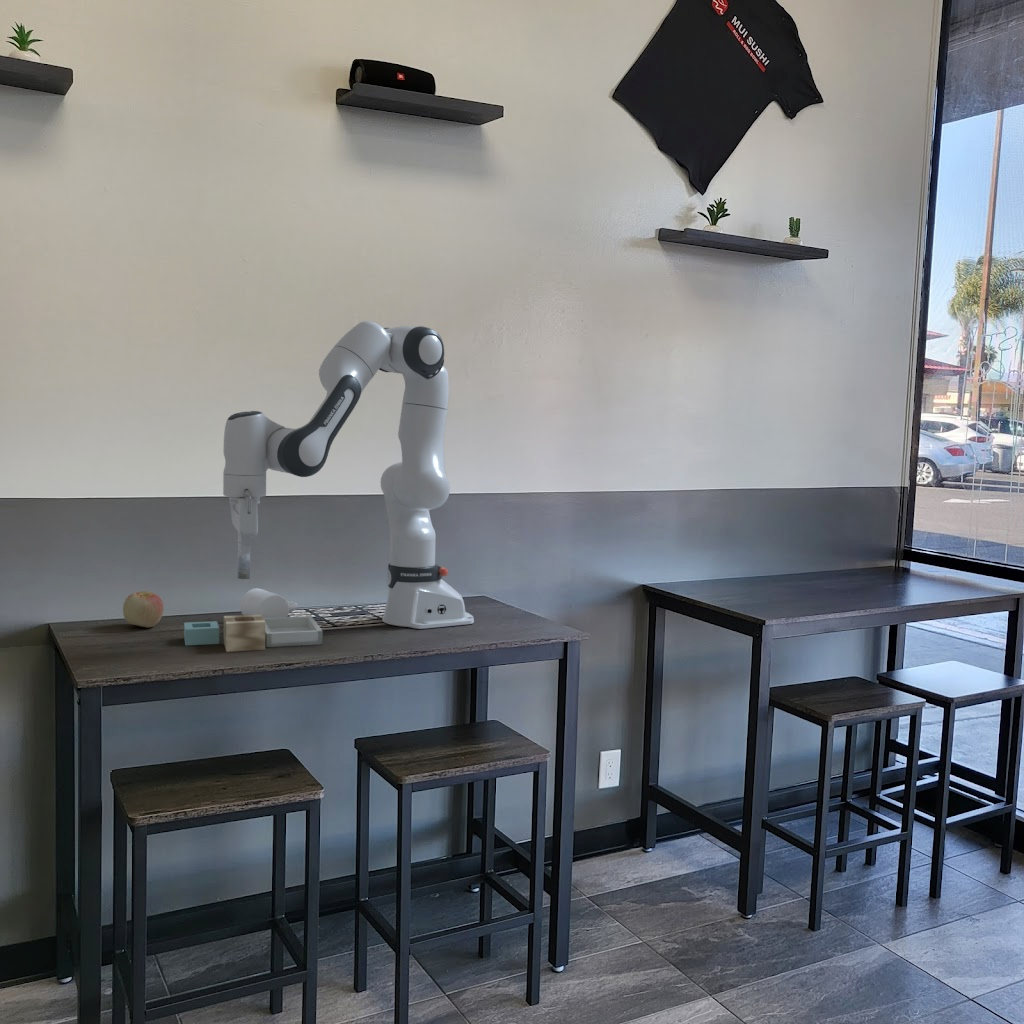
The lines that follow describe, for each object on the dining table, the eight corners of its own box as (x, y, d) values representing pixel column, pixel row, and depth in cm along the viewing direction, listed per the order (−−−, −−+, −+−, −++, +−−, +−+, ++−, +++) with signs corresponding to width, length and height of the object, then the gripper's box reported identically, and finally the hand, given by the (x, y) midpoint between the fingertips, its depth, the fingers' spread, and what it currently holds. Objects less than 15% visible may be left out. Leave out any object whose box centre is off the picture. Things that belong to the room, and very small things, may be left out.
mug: (258, 630, 231) (258, 596, 230) (239, 622, 239) (239, 589, 238) (304, 624, 239) (305, 591, 238) (285, 617, 246) (285, 585, 245)
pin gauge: (250, 576, 215) (251, 521, 214) (251, 579, 213) (252, 523, 211) (235, 577, 214) (236, 521, 213) (236, 579, 212) (237, 523, 210)
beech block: (261, 641, 220) (261, 614, 220) (265, 649, 213) (265, 622, 212) (223, 642, 217) (223, 616, 217) (226, 651, 210) (226, 623, 209)
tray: (311, 628, 234) (311, 616, 234) (322, 644, 219) (322, 631, 219) (258, 631, 230) (258, 618, 229) (266, 647, 215) (266, 633, 214)
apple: (146, 621, 236) (145, 588, 236) (171, 626, 232) (171, 592, 231) (114, 627, 229) (114, 593, 228) (140, 633, 224) (140, 598, 224)
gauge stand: (216, 636, 223) (216, 621, 223) (219, 643, 217) (219, 627, 216) (184, 638, 221) (184, 622, 220) (185, 645, 214) (185, 629, 214)
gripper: (265, 492, 203) (264, 559, 204) (255, 484, 222) (254, 545, 223) (233, 491, 201) (233, 559, 202) (225, 483, 220) (225, 545, 221)
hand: (244, 552), depth 213 cm, fingers closed on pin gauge, 3 cm apart
